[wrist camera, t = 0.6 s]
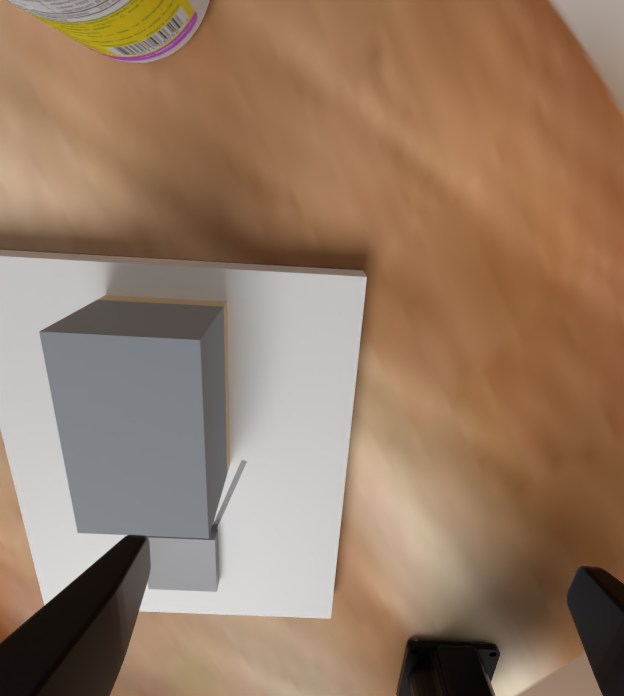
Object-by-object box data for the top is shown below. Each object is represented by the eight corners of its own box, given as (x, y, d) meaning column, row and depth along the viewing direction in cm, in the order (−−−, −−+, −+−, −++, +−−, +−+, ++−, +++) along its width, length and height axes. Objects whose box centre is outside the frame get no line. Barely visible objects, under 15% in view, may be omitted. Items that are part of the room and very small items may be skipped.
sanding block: (230, 464, 23) (208, 538, 18) (126, 460, 22) (77, 533, 18) (227, 301, 19) (200, 340, 15) (105, 295, 19) (39, 331, 14)
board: (329, 596, 28) (330, 618, 27) (58, 586, 28) (44, 607, 26) (363, 270, 20) (366, 276, 19) (-19, 248, 20) (-43, 253, 18)
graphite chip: (219, 579, 26) (216, 591, 25) (153, 577, 26) (148, 589, 25) (217, 529, 24) (214, 540, 23) (147, 526, 24) (142, 537, 23)
